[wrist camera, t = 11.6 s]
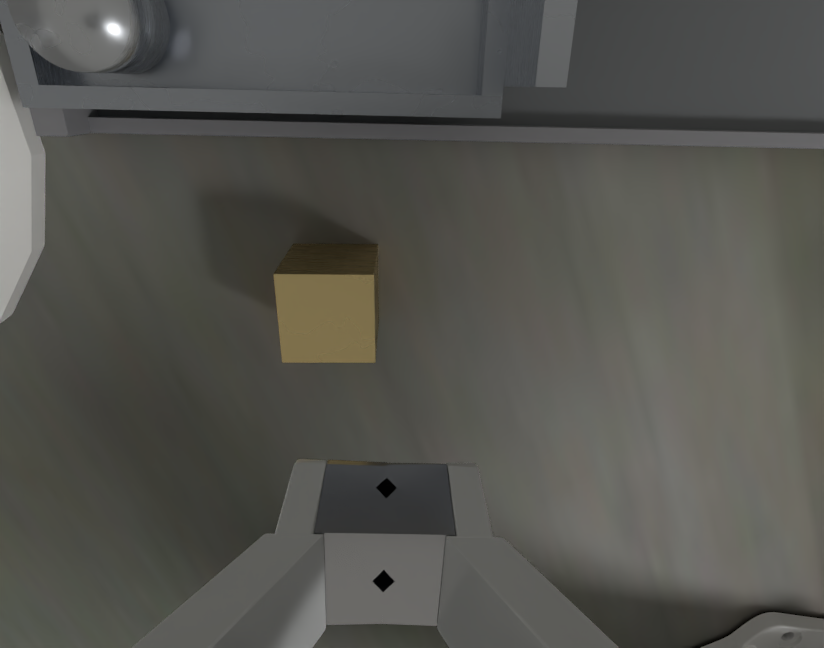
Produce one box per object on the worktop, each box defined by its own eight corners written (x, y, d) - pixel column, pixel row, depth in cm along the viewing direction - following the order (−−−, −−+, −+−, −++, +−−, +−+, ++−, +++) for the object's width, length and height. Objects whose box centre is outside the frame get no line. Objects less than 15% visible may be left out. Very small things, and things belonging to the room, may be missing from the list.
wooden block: (377, 243, 25) (374, 274, 21) (378, 320, 27) (375, 362, 23) (293, 243, 25) (273, 274, 21) (299, 320, 27) (282, 362, 23)
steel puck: (161, -40, 17) (116, -64, 14) (177, 75, 19) (139, 73, 16) (54, -44, 17) (-12, -68, 14) (79, 72, 18) (24, 70, 16)
